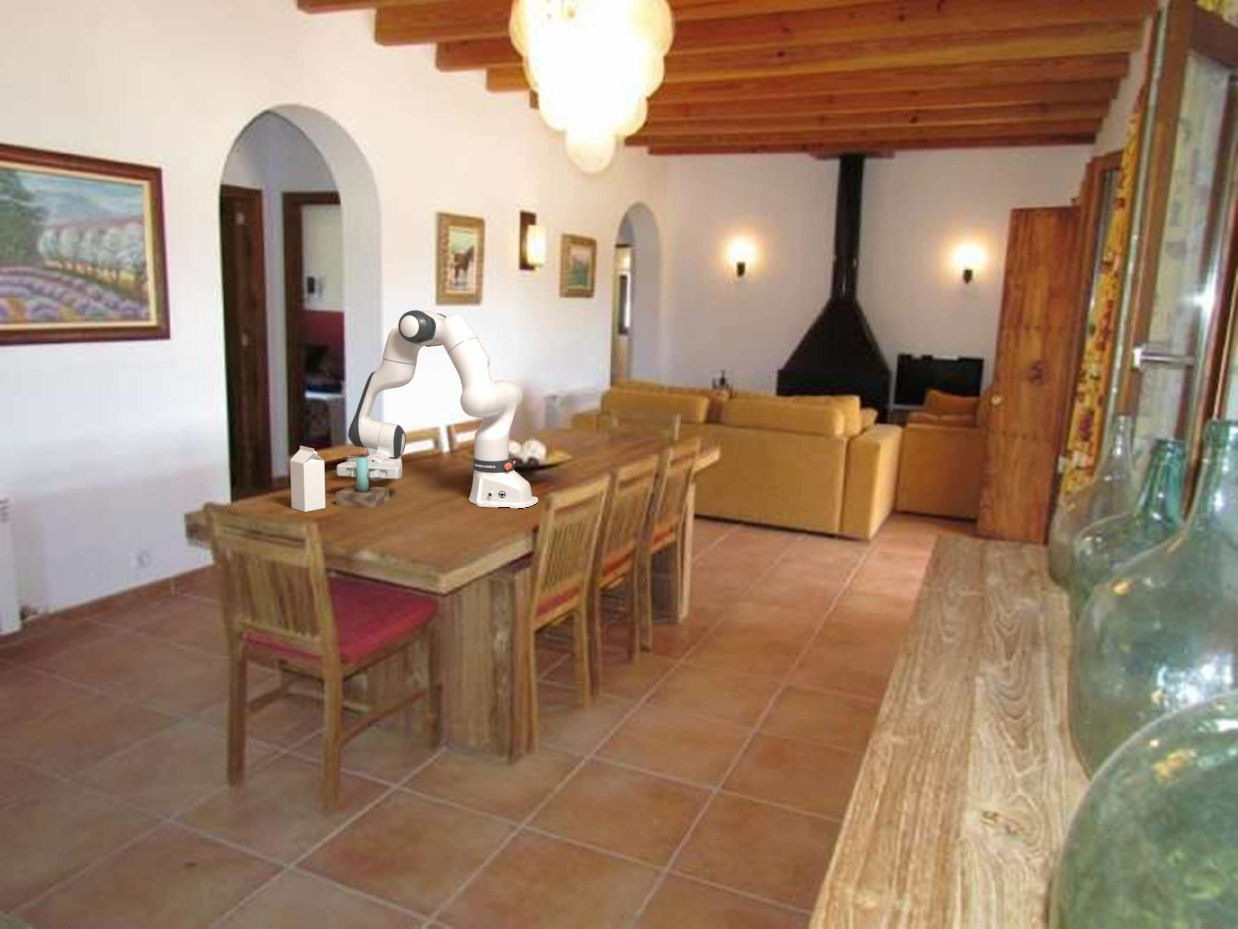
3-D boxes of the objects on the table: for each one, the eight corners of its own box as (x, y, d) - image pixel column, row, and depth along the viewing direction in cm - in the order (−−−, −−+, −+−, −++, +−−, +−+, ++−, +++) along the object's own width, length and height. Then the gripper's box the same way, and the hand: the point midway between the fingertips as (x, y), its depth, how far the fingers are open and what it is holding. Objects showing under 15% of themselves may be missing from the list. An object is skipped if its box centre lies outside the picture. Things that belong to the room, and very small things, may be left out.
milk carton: (305, 512, 261) (303, 450, 258) (291, 508, 266) (289, 447, 262) (325, 508, 267) (324, 447, 263) (312, 504, 271) (310, 444, 268)
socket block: (389, 500, 281) (389, 488, 280) (370, 508, 269) (370, 496, 269) (355, 496, 283) (355, 484, 283) (335, 504, 272) (335, 492, 271)
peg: (370, 494, 277) (370, 457, 275) (365, 496, 274) (364, 459, 272) (360, 493, 278) (360, 456, 276) (354, 495, 275) (354, 458, 272)
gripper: (344, 455, 287) (328, 463, 274) (406, 458, 286) (393, 467, 273) (345, 474, 288) (329, 483, 275) (406, 477, 287) (393, 486, 274)
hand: (361, 475), depth 274 cm, fingers closed on peg, 4 cm apart
